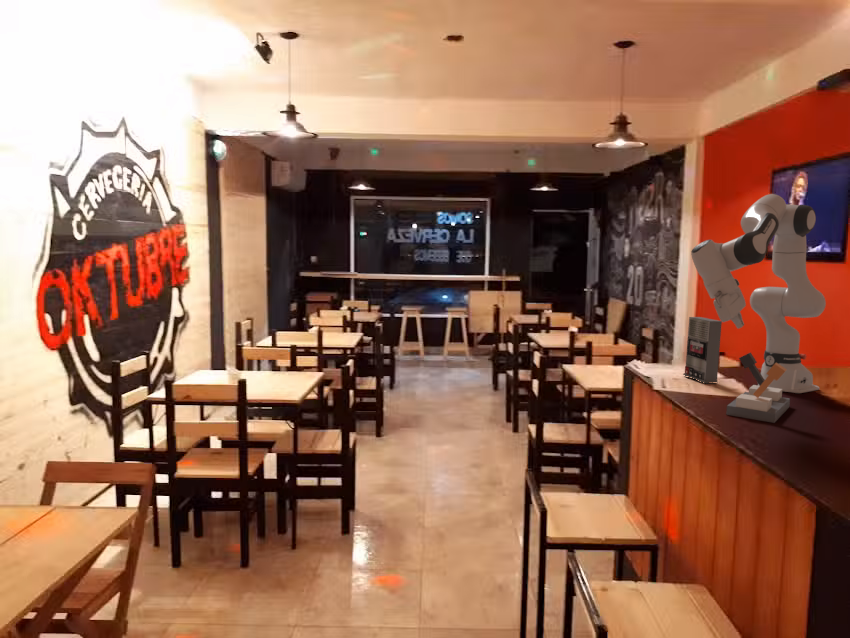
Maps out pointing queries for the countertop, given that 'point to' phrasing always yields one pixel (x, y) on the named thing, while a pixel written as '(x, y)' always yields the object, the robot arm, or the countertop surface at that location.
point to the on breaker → (752, 367)
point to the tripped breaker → (770, 378)
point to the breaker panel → (760, 414)
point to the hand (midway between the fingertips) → (741, 327)
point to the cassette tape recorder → (703, 349)
